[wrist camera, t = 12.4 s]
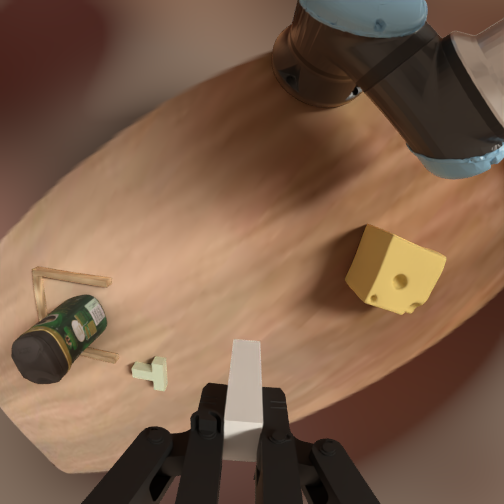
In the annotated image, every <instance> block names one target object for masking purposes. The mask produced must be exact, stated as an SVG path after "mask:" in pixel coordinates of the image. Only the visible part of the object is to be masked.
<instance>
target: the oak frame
mask: <svg viewBox="0 0 504 504" xmlns="http://www.w3.org/2000/svg"><path fill="white" fill-rule="evenodd" d="M32 276H33V284H34V292H35V298H36V305H37V311H38V316H39V322H40V321H41V320H42V319H43V318H45V317H46V316H47V315H48V314H47V308H46V301H45V294H44V286H43V277H47V278H53V279H58V280H64V281H70V282H76V283H82V284H88V285H94V286H100V287H108V286H109V285H111V284H112V278H108V277H101V276H94V275H88V274H81V273H74V272H68V271H62V270H55V269H49V268H43V267H36V268H34V269H32ZM80 355H81V356H84V357H88V358H92V359H96V360H100V361H105V362H109V363H113V364H115V363H116V362H117V360H118V359H119V356H118V354H116V353H112V352H107V351H103V350H98V349H94V348H90V347H87V348H86V349H85V350H84V351H83V352H82V353H81V354H80Z"/></svg>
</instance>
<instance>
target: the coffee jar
mask: <svg viewBox="0 0 504 504" xmlns="http://www.w3.org/2000/svg"><path fill="white" fill-rule="evenodd" d="M106 326H107V320H106V316H105V313H104V310H103V308H102V306H101V305H100V303H99V302H98V301H97V299H96V298H94V297H93V296H91V295H80V296H76V297H73V298H71V299H68V300H67V301H65V302H64V303H62V304H61V305H60V306H59V307H57V308H56V309H55V310H54V311H52V312H51V313H50V314H49V315H47V316H46V317H45V318H43V319H42V320H41V321H40V322H38V323H37V324H36V325H34V326H33V327H32V328H30V329H29V330H28V331H26V332H25V333H24V334H22V335H21V336H20V337H19V338H18V339H17V340H15V342H14V343H13V345H12V355H11V356H12V359H13V361H14V363H15V364H16V366H17V368H18V370H19V371H20V373H21V375H22V376H23V377H24V378H25V379H28V380H29V381H31V382H34V383H37V384H51V383H56V382H59V381H60V380H61V379H62V377H63V376H64V375H65V374H66V373H67V372H68V371H69V369H70V367H71V365H72V363H73V362H74V361H75V360H76V359H77V358H78V357H79V355H80V354H81V353H82V352H83V351H84V350H85V349H86V348H87V347H88V346H89V345H90V344H91V343H92V342H93V341H94V340H95V339H96V338H97V337H98V336H99V335H100V334H101V333H102V332H103V331H104V330H105V329H106Z"/></svg>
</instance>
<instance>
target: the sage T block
mask: <svg viewBox="0 0 504 504" xmlns="http://www.w3.org/2000/svg"><path fill="white" fill-rule="evenodd" d="M132 376H133V377H134V378H139V379H144V380H150V381H153V384H154V389H155V390H160V391H165V389H166V386H167V367H166V358H163V357H156V356H155V358H154V360H153V362H152V364H146V363H141V362H135V364H134V365H133V367H132Z"/></svg>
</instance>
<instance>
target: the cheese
mask: <svg viewBox="0 0 504 504" xmlns="http://www.w3.org/2000/svg"><path fill="white" fill-rule="evenodd" d="M445 262H446V257H445V256H444V255H442V254H440V253H438V252H436V251H434V250H431V249H428V248H424V247H420V246H418V245H416V244H413V243H411V242H409V241H407V240H405V239H403V238H401V237H399V236H397V235H394V234H392V233H390V232H388V231H385V230H383V229H380V228H378V227H375V226H373V225H369V224H367V226H366V228H365V231H364V233H363V236H362V238H361V241H360V244H359V247H358V249H357V252H356V255H355V257H354V260H353V262H352V264H351V267H350V269H349V271H348V273H347V275H346V278H345V281H346V283H347V284H348V286H349V287H350V288H351V289H352V290H353V291H354V292H355V293H356V295H357V296H358V297H359V298H360V299H361V300H362V301H363V302H364V303H366V304H369V305H372V306H376V307H379V308H382V309H385V310H389V311H392V312H395V313H397V314H401V315H402V314H404V312H407V313H412V312H413V311H414V309H415V308H416V307H418V306H421V305H423V304H424V303H425V302H426V300H427V299H428V297H429V295H430V293H431V291H432V289H433V288H434V286H435V284H436V282H437V280H438V278H439V276H440V275H441V272H442V270H443V268H444V265H445Z"/></svg>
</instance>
